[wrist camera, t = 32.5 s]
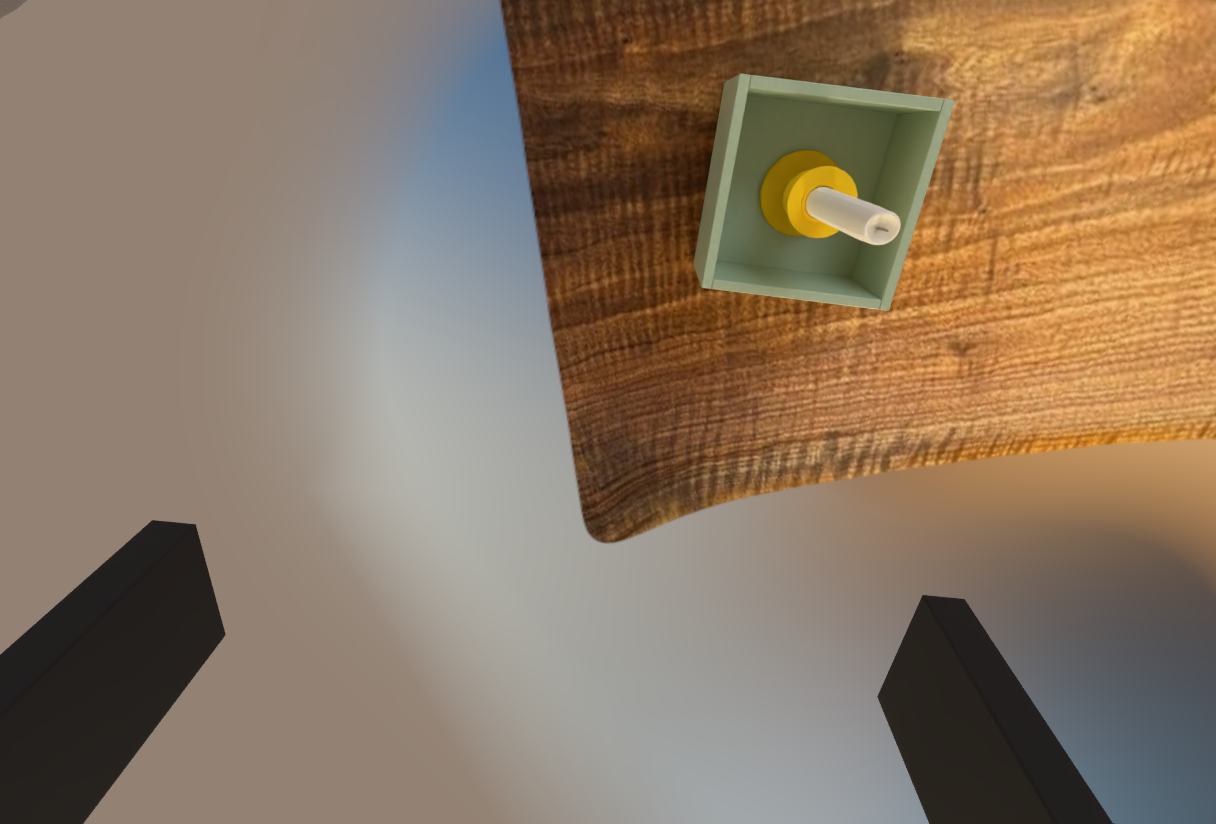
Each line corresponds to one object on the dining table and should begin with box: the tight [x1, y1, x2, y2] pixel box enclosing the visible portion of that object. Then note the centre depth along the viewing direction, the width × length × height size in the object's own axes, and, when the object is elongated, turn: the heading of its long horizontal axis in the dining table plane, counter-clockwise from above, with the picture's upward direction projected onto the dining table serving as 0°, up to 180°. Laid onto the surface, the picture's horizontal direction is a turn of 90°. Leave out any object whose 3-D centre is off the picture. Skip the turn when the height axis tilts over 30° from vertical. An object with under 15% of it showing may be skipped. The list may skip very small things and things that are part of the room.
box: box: [693, 74, 955, 311], centre depth 37 cm, size 11×11×7 cm
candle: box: [759, 150, 901, 245], centre depth 32 cm, size 5×5×16 cm
